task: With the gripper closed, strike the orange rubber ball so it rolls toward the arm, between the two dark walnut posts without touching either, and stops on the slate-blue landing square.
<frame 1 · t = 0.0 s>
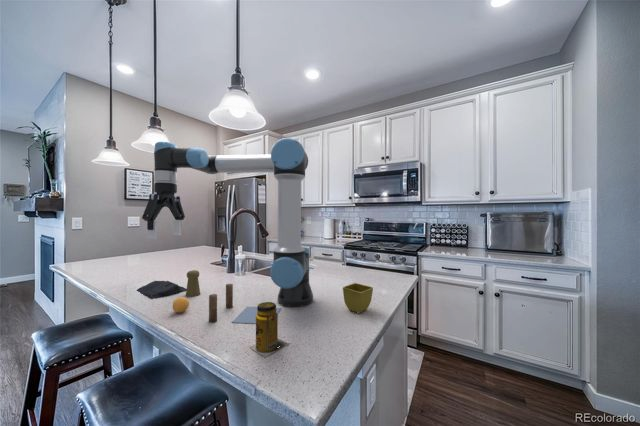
hand: (165, 237, 96), 28 cm above the counter, tool pointing down, fingers open, 13 cm apart
post 1: (213, 321, 85), on the counter
condiment: (269, 346, 70), on the counter
dark slate chunk: (161, 292, 118), on the counter
ball: (180, 304, 93), on the counter
flower pot: (357, 310, 96), on the counter
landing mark: (258, 315, 90), on the counter
cork: (193, 295, 112), on the counter
post 2: (229, 307, 98), on the counter
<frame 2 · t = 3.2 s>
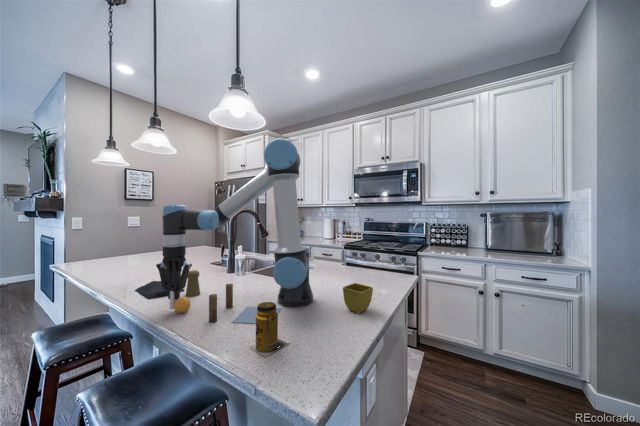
hand: (173, 307, 93), 2 cm above the counter, tool pointing down, fingers closed
ball: (182, 304, 93), on the counter, touching gripper
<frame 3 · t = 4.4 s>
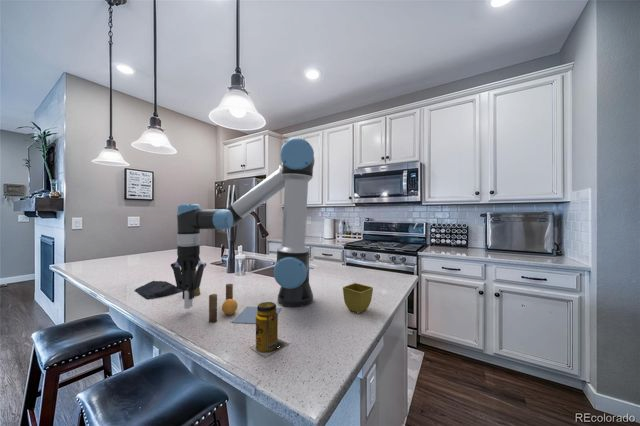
hand: (188, 307, 93), 2 cm above the counter, tool pointing down, fingers closed
ball: (229, 306, 91), on the counter
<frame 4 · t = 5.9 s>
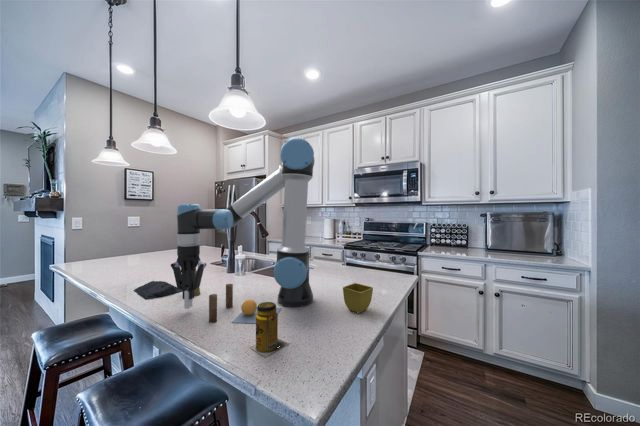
hand: (188, 307, 93), 2 cm above the counter, tool pointing down, fingers closed
ball: (249, 307, 91), on the counter
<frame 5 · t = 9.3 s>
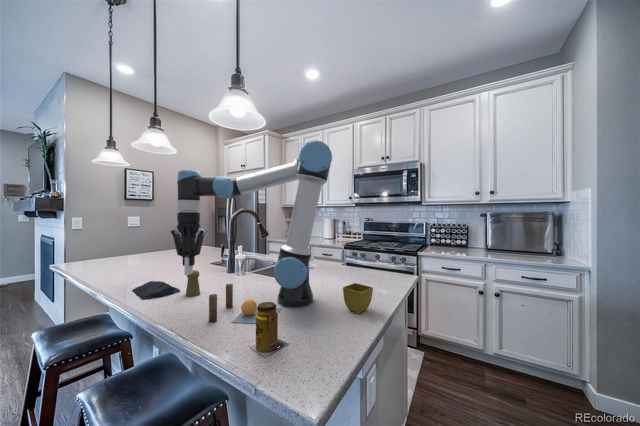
hand: (188, 274, 93), 14 cm above the counter, tool pointing down, fingers closed
at the end: ball 3.5 cm from the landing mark (horizontally); ball never touched post 2; ball never touched post 1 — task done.
